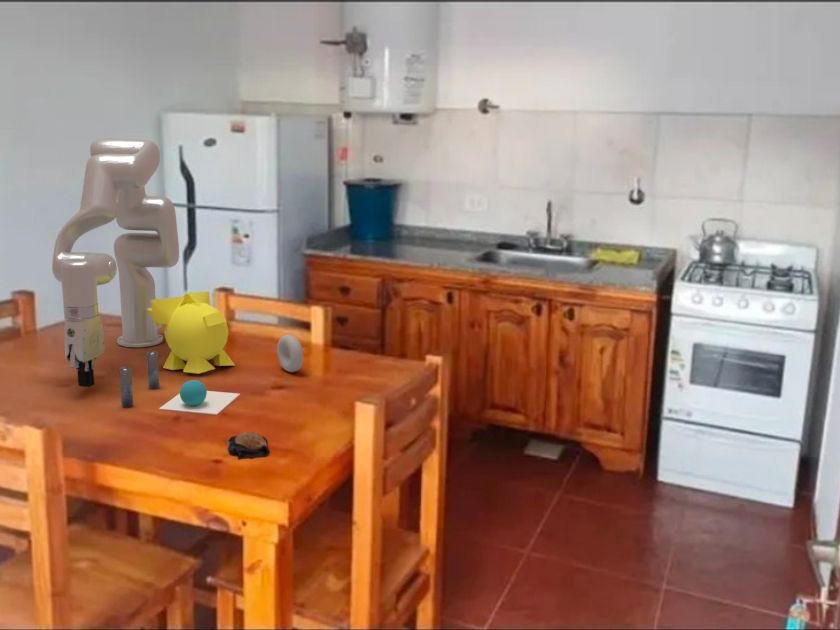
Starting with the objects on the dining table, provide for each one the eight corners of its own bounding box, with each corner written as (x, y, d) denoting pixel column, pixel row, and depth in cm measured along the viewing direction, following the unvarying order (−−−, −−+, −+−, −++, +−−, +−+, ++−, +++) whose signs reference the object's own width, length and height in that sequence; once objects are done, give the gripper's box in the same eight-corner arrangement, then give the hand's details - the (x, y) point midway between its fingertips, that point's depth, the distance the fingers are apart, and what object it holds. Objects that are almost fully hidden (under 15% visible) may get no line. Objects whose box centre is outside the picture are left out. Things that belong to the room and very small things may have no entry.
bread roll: (224, 444, 180) (223, 427, 179) (264, 439, 183) (263, 423, 182) (232, 464, 171) (231, 446, 170) (274, 458, 173) (273, 441, 173)
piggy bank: (197, 351, 241) (195, 283, 237) (247, 364, 231) (245, 294, 226) (138, 368, 225) (134, 296, 221) (189, 383, 215) (186, 308, 210)
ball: (216, 391, 200) (200, 407, 203) (200, 372, 201) (184, 388, 203) (202, 398, 195) (186, 414, 197) (185, 378, 195) (169, 394, 197)
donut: (274, 368, 228) (274, 331, 226) (285, 365, 231) (285, 329, 228) (294, 377, 221) (294, 340, 219) (306, 375, 223) (306, 338, 221)
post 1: (125, 403, 200) (122, 366, 197) (135, 404, 199) (133, 367, 197) (119, 407, 197) (117, 369, 195) (129, 408, 197) (127, 370, 195)
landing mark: (185, 389, 210) (185, 388, 210) (240, 394, 208) (240, 393, 208) (158, 409, 197) (158, 408, 196) (216, 414, 194) (216, 414, 194)
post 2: (151, 385, 212) (149, 350, 210) (161, 386, 212) (159, 351, 210) (146, 388, 210) (144, 353, 208) (156, 389, 209) (154, 354, 207)
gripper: (78, 320, 194) (83, 397, 199) (112, 305, 208) (116, 377, 213) (47, 318, 195) (54, 394, 200) (83, 303, 210) (88, 374, 214)
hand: (86, 385), depth 206 cm, fingers closed
